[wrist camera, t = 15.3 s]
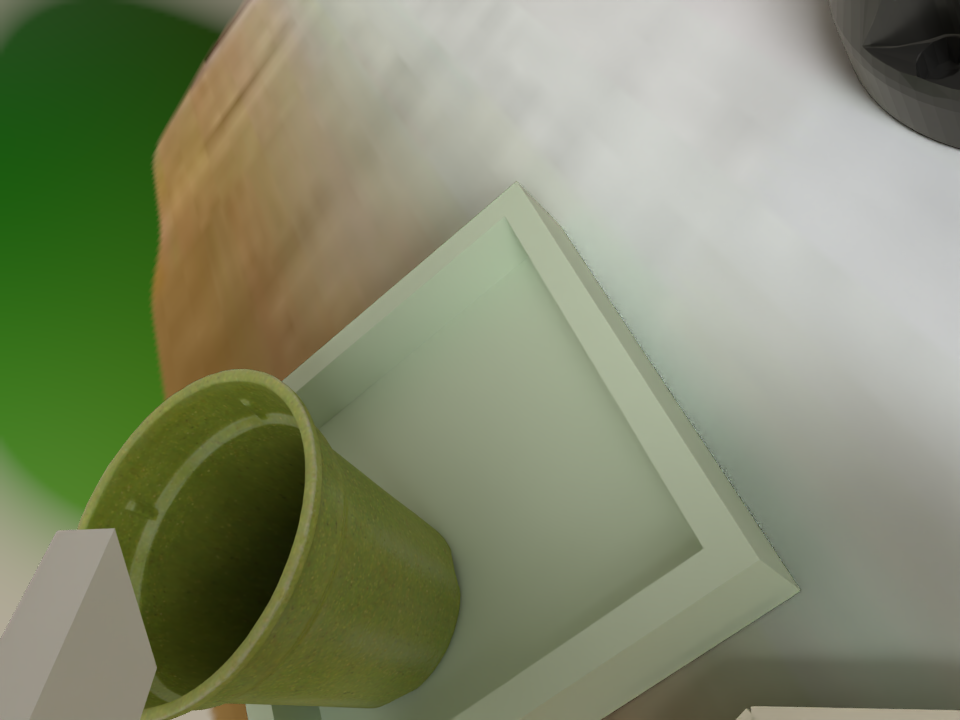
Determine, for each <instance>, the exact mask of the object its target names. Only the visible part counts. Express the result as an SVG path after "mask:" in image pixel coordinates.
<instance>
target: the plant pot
mask: <svg viewBox="0 0 960 720" xmlns="http://www.w3.org/2000/svg"><path fill="white" fill-rule="evenodd" d="M110 528H115V531H116V534H117V538H118V541H119V544H120V547H121V551H122V554H123V557H124V561H125V564H126V567H127V571H128V574H129V577H130V580H131V584H132V587H133V590H134V594H135V597H136V600H137V603H138V607H139V610H140V613H141V617H142V620H143V623H144V627H145V630H146V633H147V636H148V640H149V643H150V646H151V650H152V653H153V656H154V660H155V663H156V666H157V669H156V672H155V675H154V678H153V682H152V685H151V688H150V691H149V694H148V697H147V700H146V703H145V706H144V709H143V712H142V715H141V718H140V720H170V719H173V718H176V717H178V716H181V715H183V714H186V713H188V712H190V711H192V710H203V709H208V708H212V707H216V706H219V705H222V704H225V703H233V704H263V705H295V706H322V707H345V708H378V707H381V706H383V705H385V704H388V703H390V702H392V701H394V700H395V699H397V698H400V697H402V696H404V695H406V694H407V693H409V692H411V691H413V690H415V689H417V688H418V687H419V686H420V685H422V684H423V683H424V682H425V681H426V680H427V679H428V677H429V676H430V675H431V674H432V673H433V672H434V670H435V669H436V667H437V666H438V664H439V663H440V661H441V659H442V658H443V656H444V654H445V652H446V650H447V649H448V646H449V644H450V641H451V638H452V636H453V633H454V630H455V627H456V623H457V619H458V614H459V607H460V588H459V585H458V581H457V578H456V574H455V570H454V565H453V560H452V555H451V549H450V547H449V545H448V544H447V542H446V540H445V539H444V538H443V537H442V536H441V534H440V533H439V532H438V531H437V530H435V529H434V528H433V527H432V526H430V525H429V524H428V523H427V522H425V521H424V520H423V519H422V518H420V517H419V516H418V515H416V514H415V513H414V512H413V511H411V510H410V509H408V508H407V507H406V506H404V505H403V504H402V503H400V502H399V501H398V500H397V499H395V498H394V497H393V496H391V495H390V494H389V493H387V492H386V491H385V490H384V489H382V488H381V487H380V486H378V485H377V484H376V483H375V482H373V481H372V480H371V479H370V478H368V477H367V476H366V475H365V474H363V473H362V472H361V471H360V470H358V469H357V468H356V467H355V466H353V465H352V464H351V463H350V462H348V461H347V460H346V459H344V458H343V457H342V456H341V455H339V454H338V453H337V452H336V451H334V450H333V449H332V448H331V446H330V444H329V443H328V441H327V440H326V438H325V437H324V435H323V434H322V433H321V432H320V430H319V429H318V428H317V427H316V426H315V425H314V422H313V419H312V417H311V415H310V413H309V411H308V409H307V407H306V406H305V404H304V403H303V401H302V400H301V399H300V398H299V396H298V395H297V394H296V393H295V392H294V391H293V390H292V389H291V388H290V387H289V386H287V385H286V384H285V383H283V382H282V381H280V380H279V379H277V378H276V377H274V376H272V375H270V374H267V373H264V372H260V371H256V370H251V369H231V370H226V371H221V372H219V373H216V374H212V375H209V376H206V377H204V378H201V379H199V380H197V381H195V382H193V383H191V384H189V385H188V386H186V387H185V388H184V389H182V390H180V391H178V392H176V393H175V394H173V395H172V396H171V397H169V398H168V399H167V400H166V401H165V402H164V403H162V404H161V405H160V406H159V407H157V408H156V409H155V410H154V411H153V412H152V413H151V414H150V415H149V416H148V417H147V418H146V419H145V420H144V421H143V422H142V423H141V424H140V426H139V427H138V428H137V429H136V431H135V432H134V433H133V434H132V435H131V436H130V437H129V439H128V440H127V441H126V442H125V444H124V445H123V446H122V448H121V450H120V451H119V452H118V453H117V455H116V456H115V457H114V459H113V460H112V461H111V463H110V464H109V466H108V467H107V469H106V470H105V472H104V474H103V476H102V477H101V479H100V481H99V483H98V485H97V486H96V488H95V490H94V492H93V494H92V496H91V498H90V500H89V502H88V504H87V506H86V508H85V511H84V513H83V515H82V517H81V520H80V522H79V525H78V528H77V530H85V529H110Z"/></svg>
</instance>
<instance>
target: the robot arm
mask: <svg viewBox="0 0 960 720" xmlns="http://www.w3.org/2000/svg"><path fill="white" fill-rule="evenodd" d="M828 1H829V6H830V11H831V14H832V18H833V21H834V24H835V26H836V29H837V31H838V33H839V36H840V38H841V40H842V43H843V45H844V47H845V50H846V52H847V54H848V57H849V59H850V61H851V64H852V66H853V68H854V71H855V73H856V75H857V76H858V78H859V80H860V82H861V83H862V85H863V86H864V87H865V89H866V90H867V92H868V93H869V94H870V95H871V96H872V98H873V99H874V100H875V101H876V102H877V103H878V104H879V105H880V106H881V107H882V108H883V109H884V110H886V111H887V112H888V113H889V114H890V115H892V116H893V117H894V118H896V119H897V120H899V121H900V122H901V123H903V124H905V125H906V126H908V127H910V128H911V129H913V130H915V131H917V132H919V133H921V134H923V135H925V136H927V137H929V138H931V139H934V140H937V141H939V142H942V143H944V144H947V145H950V146H953V147H957V148H960V0H828ZM156 669H157V666H156V663H155V660H154V656H153V653H152V650H151V646H150V643H149V640H148V636H147V633H146V630H145V627H144V623H143V620H142V617H141V613H140V610H139V607H138V603H137V600H136V597H135V594H134V590H133V587H132V584H131V580H130V577H129V574H128V571H127V567H126V564H125V561H124V557H123V554H122V551H121V547H120V544H119V541H118V538H117V534H116V531H115V528H110V529H85V530H61V531H57V532H56V534H55V535H54V537H53V539H52V541H51V543H50V545H49V547H48V549H47V551H46V553H45V554H44V556H43V558H42V560H41V562H40V564H39V566H38V568H37V570H36V572H35V574H34V576H33V578H32V579H31V581H30V583H29V585H28V587H27V589H26V591H25V593H24V595H23V596H22V598H21V600H20V602H19V604H18V606H17V608H16V610H15V612H14V614H13V616H12V618H11V619H10V622H9V623H8V625H7V627H6V629H5V631H4V633H3V635H2V637H1V638H0V720H140V718H141V715H142V712H143V709H144V706H145V703H146V700H147V697H148V694H149V691H150V688H151V685H152V682H153V678H154V675H155V672H156Z"/></svg>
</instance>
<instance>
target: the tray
mask: <svg viewBox="0 0 960 720" xmlns="http://www.w3.org/2000/svg"><path fill="white" fill-rule="evenodd" d="M282 382H283V383H285V384H286V385H287V386H289V387H290V388H291V389H292V390H293V391H294V392H295V393H296V394H297V395H298V396H299V398H300V399H301V400H302V401H303V403H304V404H305V406H306V407H307V409H308V411H309V413H310V415H311V417H312V419H313V422H314V425H315V426H316V427H317V428H318V429H319V430H320V432H321V433H322V434H323V435H324V437H325V438H326V440H327V441H328V443H329V444H330V446H331V448H332V449H333V450H334V451H336V452H337V453H338V454H339V455H341V456H342V457H343V458H344V459H346V460H347V461H348V462H350V463H351V464H352V465H353V466H355V467H356V468H357V469H358V470H360V471H361V472H362V473H363V474H365V475H366V476H367V477H368V478H370V479H371V480H372V481H373V482H375V483H376V484H377V485H378V486H380V487H381V488H382V489H384V490H385V491H386V492H387V493H389V494H390V495H391V496H393V497H394V498H395V499H397V500H398V501H399V502H400V503H402V504H403V505H404V506H406V507H407V508H408V509H410V510H411V511H413V512H414V513H415V514H416V515H418V516H419V517H420V518H422V519H423V520H424V521H425V522H427V523H428V524H429V525H430V526H432V527H433V528H434V529H435V530H437V531H438V532H439V533H440V534H441V536H442V537H443V538H444V539H445V540H446V542H447V544H448V545H449V547H450V549H451V555H452V560H453V565H454V570H455V574H456V578H457V581H458V585H459V588H460V607H459V614H458V619H457V623H456V627H455V630H454V633H453V636H452V638H451V641H450V644H449V646H448V649H447V650H446V652H445V654H444V656H443V658H442V659H441V661H440V663H439V664H438V666H437V667H436V669H435V670H434V672H433V673H432V674H431V675H430V676H429V677H428V679H427V680H426V681H425V682H424V683H423V684H422V685H420V686H419V687H418V688H417V689H415V690H413V691H411V692H409V693H407V694H406V695H404V696H402V697H400V698H397V699H395V700H394V701H392V702H390V703H388V704H385V705H383V706H381V707H378V708H345V707H322V706H295V705H263V704H246V710H247V716H248V720H601V719H603V718H604V717H606V716H607V715H609V714H610V713H612V712H614V711H615V710H617V709H618V708H620V707H621V706H623V705H624V704H626V703H628V702H629V701H631V700H632V699H634V698H635V697H637V696H638V695H640V694H641V693H643V692H645V691H646V690H648V689H649V688H651V687H652V686H654V685H655V684H657V683H659V682H660V681H662V680H663V679H665V678H666V677H668V676H669V675H671V674H673V673H674V672H676V671H677V670H679V669H680V668H682V667H683V666H685V665H687V664H688V663H690V662H691V661H693V660H694V659H696V658H697V657H699V656H701V655H702V654H704V653H705V652H707V651H708V650H710V649H711V648H713V647H715V646H716V645H718V644H719V643H721V642H722V641H724V640H725V639H727V638H728V637H730V636H732V635H733V634H735V633H736V632H738V631H739V630H741V629H742V628H744V627H746V626H747V625H749V624H750V623H752V622H753V621H755V620H756V619H758V618H760V617H761V616H763V615H764V614H766V613H767V612H769V611H770V610H772V609H774V608H775V607H777V606H778V605H780V604H781V603H783V602H784V601H786V600H788V599H789V598H791V597H792V596H794V595H795V594H797V593H798V592H800V591H801V590H800V588H799V587H798V585H797V584H796V582H795V581H794V579H793V578H792V576H791V575H790V573H789V572H788V570H787V569H786V567H785V566H784V564H783V563H782V561H781V560H780V558H779V557H778V555H777V554H776V552H775V551H774V549H773V547H772V546H771V544H770V543H769V541H768V540H767V538H766V537H765V535H764V534H763V532H762V531H761V529H760V528H759V526H758V525H757V523H756V522H755V520H754V519H753V517H752V516H751V514H750V513H749V511H748V510H747V508H746V507H745V505H744V504H743V502H742V500H741V499H740V497H739V496H738V494H737V493H736V491H735V490H734V488H733V487H732V485H731V484H730V482H729V481H728V479H727V478H726V476H725V475H724V473H723V472H722V470H721V469H720V467H719V466H718V464H717V463H716V461H715V460H714V458H713V457H712V455H711V453H710V452H709V450H708V449H707V447H706V446H705V444H704V443H703V441H702V440H701V438H700V437H699V435H698V434H697V432H696V431H695V429H694V428H693V426H692V425H691V423H690V422H689V420H688V419H687V417H686V416H685V414H684V413H683V411H682V410H681V408H680V406H679V405H678V403H677V402H676V400H675V399H674V397H673V396H672V394H671V393H670V391H669V390H668V388H667V387H666V385H665V384H664V382H663V381H662V379H661V378H660V376H659V375H658V373H657V372H656V370H655V369H654V367H653V366H652V364H651V363H650V361H649V360H648V358H647V356H646V355H645V353H644V352H643V350H642V349H641V347H640V346H639V344H638V343H637V341H636V340H635V338H634V337H633V335H632V334H631V332H630V331H629V329H628V328H627V326H626V325H625V323H624V322H623V320H622V319H621V317H620V316H619V314H618V313H617V311H616V309H615V308H614V306H613V305H612V303H611V302H610V300H609V299H608V297H607V296H606V294H605V293H604V291H603V290H602V288H601V287H600V285H599V284H598V282H597V281H596V279H595V278H594V276H593V275H592V273H591V272H590V270H589V269H588V267H587V266H586V264H585V262H584V261H583V259H582V258H581V256H580V255H579V253H578V252H577V250H576V249H575V247H574V246H573V244H572V243H571V241H570V240H569V238H568V237H567V235H566V234H565V232H564V231H563V229H562V228H561V226H560V225H559V224H558V223H557V222H556V221H555V220H554V219H553V218H552V217H551V216H550V215H549V214H548V213H547V212H546V211H545V210H544V209H543V208H542V206H541V205H540V204H539V203H538V202H537V201H536V200H535V199H534V198H533V197H532V196H531V195H530V194H529V193H528V192H527V191H526V190H525V189H524V188H523V187H522V186H521V185H520V184H519V183H518V182H517V181H516V182H515V183H514V184H513V185H512V186H511V187H509V188H508V189H507V190H506V191H505V192H503V193H502V194H501V195H500V196H499V197H498V198H496V199H495V200H494V201H493V202H492V203H491V204H489V205H488V206H487V207H486V208H485V209H484V210H482V211H481V212H480V213H479V214H478V215H476V216H475V217H474V218H473V219H472V220H471V221H469V222H468V223H467V224H466V225H465V226H464V227H462V228H461V229H460V230H459V231H458V232H456V233H455V234H454V235H453V236H452V237H451V238H449V239H448V240H447V241H446V242H445V243H444V244H442V245H441V246H440V247H439V248H438V249H437V250H435V251H434V252H433V253H432V254H431V255H429V256H428V257H427V258H426V259H425V260H424V261H422V262H421V263H420V264H419V265H418V266H417V267H415V268H414V269H413V270H412V271H411V272H410V273H408V274H407V275H406V276H405V277H404V278H402V279H401V280H400V281H399V282H398V283H397V284H395V285H394V286H393V287H392V288H391V289H390V290H388V291H387V292H386V293H385V294H384V295H383V296H381V297H380V298H379V299H378V300H377V301H375V302H374V303H373V304H372V305H371V306H370V307H368V308H367V309H366V310H365V311H364V312H363V313H361V314H360V315H359V316H358V317H357V318H355V319H354V320H353V321H352V322H351V323H350V324H348V325H347V326H346V327H345V328H344V329H343V330H341V331H340V332H339V333H338V334H337V335H336V336H334V337H333V338H332V339H331V340H330V341H328V342H327V343H326V344H325V345H324V346H323V347H321V348H320V349H319V350H318V351H317V352H316V353H314V354H313V355H312V356H311V357H310V358H309V359H307V360H306V361H305V362H304V363H303V364H301V365H300V366H299V367H298V368H297V369H296V370H294V371H293V372H292V373H291V374H290V375H289V376H287V377H286V378H285V379H284V380H283V381H282Z"/></svg>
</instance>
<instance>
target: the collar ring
mask: <svg viewBox="0 0 960 720" xmlns="http://www.w3.org/2000/svg"><path fill="white" fill-rule="evenodd" d="M736 720H960V710H923V709H873V708H822V707H772V706H751V710H750V709H747V708H746V709H745V710H744V711H743V712H742V713H741V714H740V716H739V717H738V718H737V719H736Z"/></svg>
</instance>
